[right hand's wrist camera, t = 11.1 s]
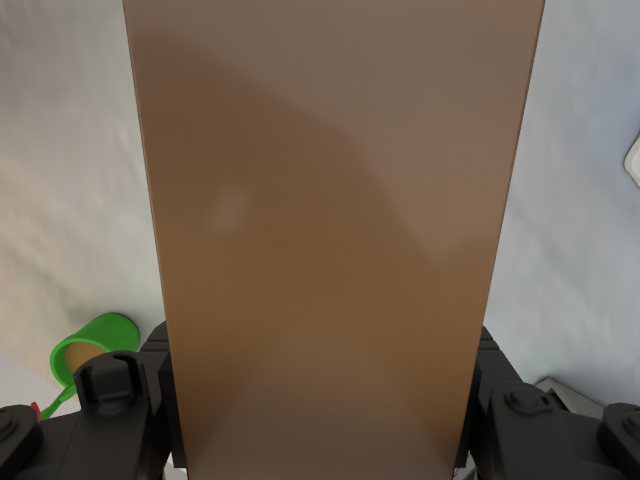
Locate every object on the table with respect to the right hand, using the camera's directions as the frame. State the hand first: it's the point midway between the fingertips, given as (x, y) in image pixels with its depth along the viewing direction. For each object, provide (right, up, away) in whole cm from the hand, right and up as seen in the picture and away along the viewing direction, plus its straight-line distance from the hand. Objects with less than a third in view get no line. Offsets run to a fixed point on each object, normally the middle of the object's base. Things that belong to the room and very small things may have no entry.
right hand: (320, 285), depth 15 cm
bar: (0, +18, -6) cm, 20 cm away
